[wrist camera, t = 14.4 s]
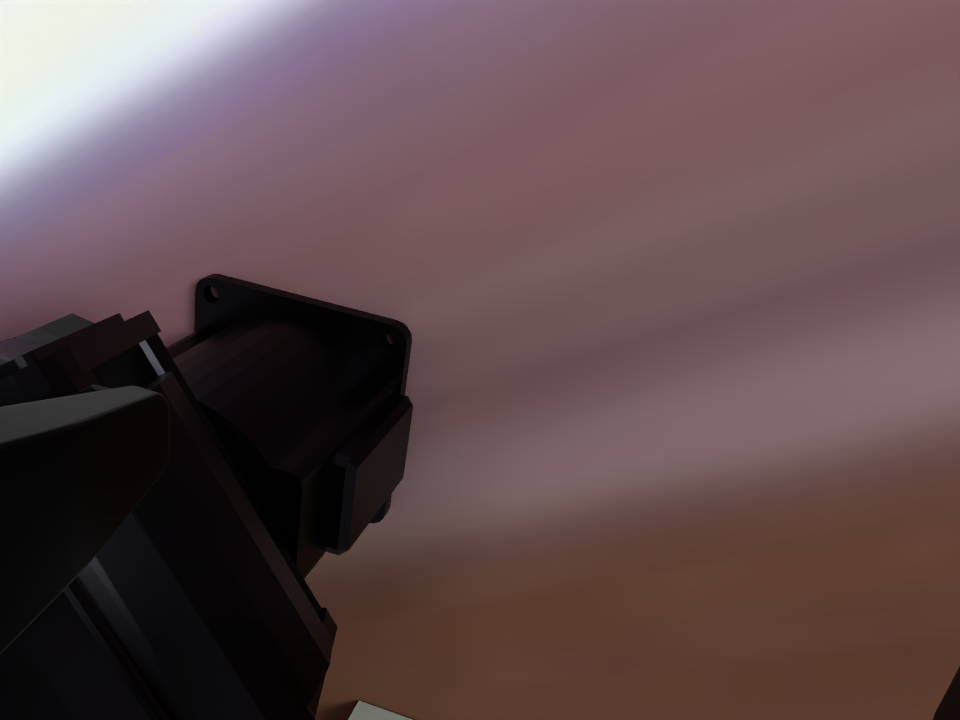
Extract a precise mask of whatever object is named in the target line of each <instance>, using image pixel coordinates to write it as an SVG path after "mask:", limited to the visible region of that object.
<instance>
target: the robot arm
mask: <svg viewBox="0 0 960 720" xmlns="http://www.w3.org/2000/svg"><path fill="white" fill-rule="evenodd" d="M211 286H212V287H214V288H215V289H216V290H217V291H218V294H219V298H216V297H214V295H213V294H212V292H211ZM160 331H161V330H160V328H159V327H158V325H157V323H156V322H155V320H154V318H153V316H152V315H151V313H150V311H149V310H148V311H146V312H144V313H142V314H139V315H137V316H135V317H133V318H131V319H128V320H126V321H124V319H123V318H122V316H121V314H120V313H119V314H116V315H114V316H112V317H109V318H107V319H105V320H102V321H100V322H97V323H93V322H90V321H88V320H86V319H84V318H81V317H79V316H77V315H74V314H70V315H67V316H65V317H63V318H60V319H58V320H56V321H53V322H51V323H49V324H46V325H44V326H42V327H40V328H37V329H35V330H32V331H30V332H28V333H25V334H23V335H20V336H17V337H14V338H11V339H7V340H3V341H0V720H315V715H316V711H317V707H318V703H319V699H320V695H321V691H322V687H323V683H324V679H325V675H326V672H327V670H328V668H329V666H330V659H331V651H332V647H333V643H334V639H335V635H336V630H337V625H336V624H335V622H334V620H333V619H332V617H331V615H330V614H329V612H328V610H327V608H321V607H320V605H319V603H318V602H317V600H316V598H315V597H314V595H313V593H312V592H311V590H310V588H309V587H308V585H307V583H306V582H305V580H304V579H305V577H306V576H307V575H308V574H309V572H310V571H311V570H312V569H313V567H314V566H315V565H316V563H317V562H318V561H319V560H320V558H321V557H322V556H323V555H324V553H325V552H326V551H327V552H330V553H333V554H336V555H341V554H342V553H344V552H346V551H348V550H349V549H350V548H351V546H352V545H353V544H354V542H355V541H356V540H357V538H358V537H359V536H360V534H361V533H362V532H363V530H364V529H365V528H366V526H367V525H368V524H369V523H377V522H380V521H381V520H382V519H383V518H384V517H385V515H386V514H387V512H388V510H389V508H390V502H391V494H392V492H393V490H394V489H395V488H396V486H397V485H398V484H399V482H400V481H401V480H402V478H403V475H404V468H405V461H406V454H407V446H408V439H409V432H410V425H411V417H412V410H413V405H412V403H411V401H410V399H409V397H408V396H405V389H406V381H407V374H408V366H409V359H410V351H411V344H412V337H411V333H410V331H409V329H408V327H407V326H406V325H405V324H404V323H402V322H400V321H398V320H394V319H390V318H386V317H383V316H379V315H375V314H371V313H367V312H363V311H359V310H356V309H352V308H348V307H344V306H340V305H336V304H332V303H329V302H325V301H321V300H317V299H313V298H309V297H305V296H302V295H298V294H294V293H290V292H286V291H282V290H278V289H275V288H271V287H267V286H263V285H259V284H255V283H251V282H248V281H244V280H240V279H236V278H232V277H228V276H224V275H221V274H212V275H210V276H207V277H205V278H203V279H201V280H200V281H199V282H198V283H197V285H196V290H195V332H194V333H193V334H191V335H189V336H187V337H185V338H184V339H182V340H180V341H178V342H177V343H175V344H173V345H171V346H169V347H168V348H166V347H165V346H164V344H163V342H162V341H161V339H160V337H159V336H158V334H157V333H159V332H160ZM387 333H392V334H393V335H395V336H396V338H397V339H398V345H392V344H390V343H389V341H388V340H387V336H386V334H387ZM933 720H960V667H959V669H958V671H957V673H956V674H955V676H954V678H953V680H952V682H951V684H950V686H949V688H948V689H947V691H946V693H945V695H944V697H943V699H942V701H941V703H940V704H939V706H938V708H937V710H936V712H935V715H934V718H933Z"/></svg>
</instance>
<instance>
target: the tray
mask: <svg viewBox="0 0 960 720" xmlns="http://www.w3.org/2000/svg"><path fill="white" fill-rule="evenodd" d="M348 720H412V719H410V718H407V717H404V716H401V715H399V714H396V713H393V712H390V711H387V710H385V709H382V708H379V707H376V706H373V705H371V704H368V703H365V702H362V701H358V703H357V705H356V707H355V708H354V710H353V712H352V714H351V715H350V717H349V719H348Z"/></svg>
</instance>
